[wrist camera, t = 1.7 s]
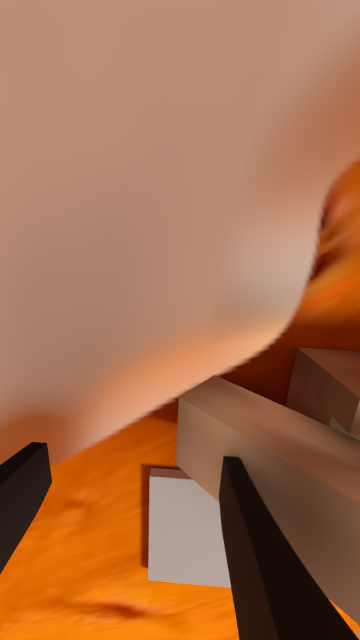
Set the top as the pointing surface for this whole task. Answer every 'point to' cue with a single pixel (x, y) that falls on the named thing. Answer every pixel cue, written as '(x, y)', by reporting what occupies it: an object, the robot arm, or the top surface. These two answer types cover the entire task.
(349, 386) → the holder
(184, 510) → the mat
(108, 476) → the top surface
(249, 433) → the bar
